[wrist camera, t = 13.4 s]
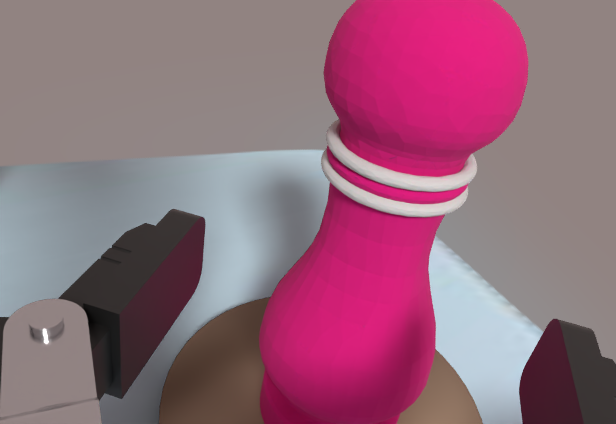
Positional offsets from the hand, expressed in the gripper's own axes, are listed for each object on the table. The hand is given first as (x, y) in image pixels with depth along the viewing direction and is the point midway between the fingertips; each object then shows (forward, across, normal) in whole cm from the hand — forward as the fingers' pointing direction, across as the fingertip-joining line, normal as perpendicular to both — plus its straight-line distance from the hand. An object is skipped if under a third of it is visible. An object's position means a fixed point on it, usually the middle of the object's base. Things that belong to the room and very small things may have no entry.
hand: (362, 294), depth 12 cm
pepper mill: (+7, 0, +13) cm, 14 cm away
